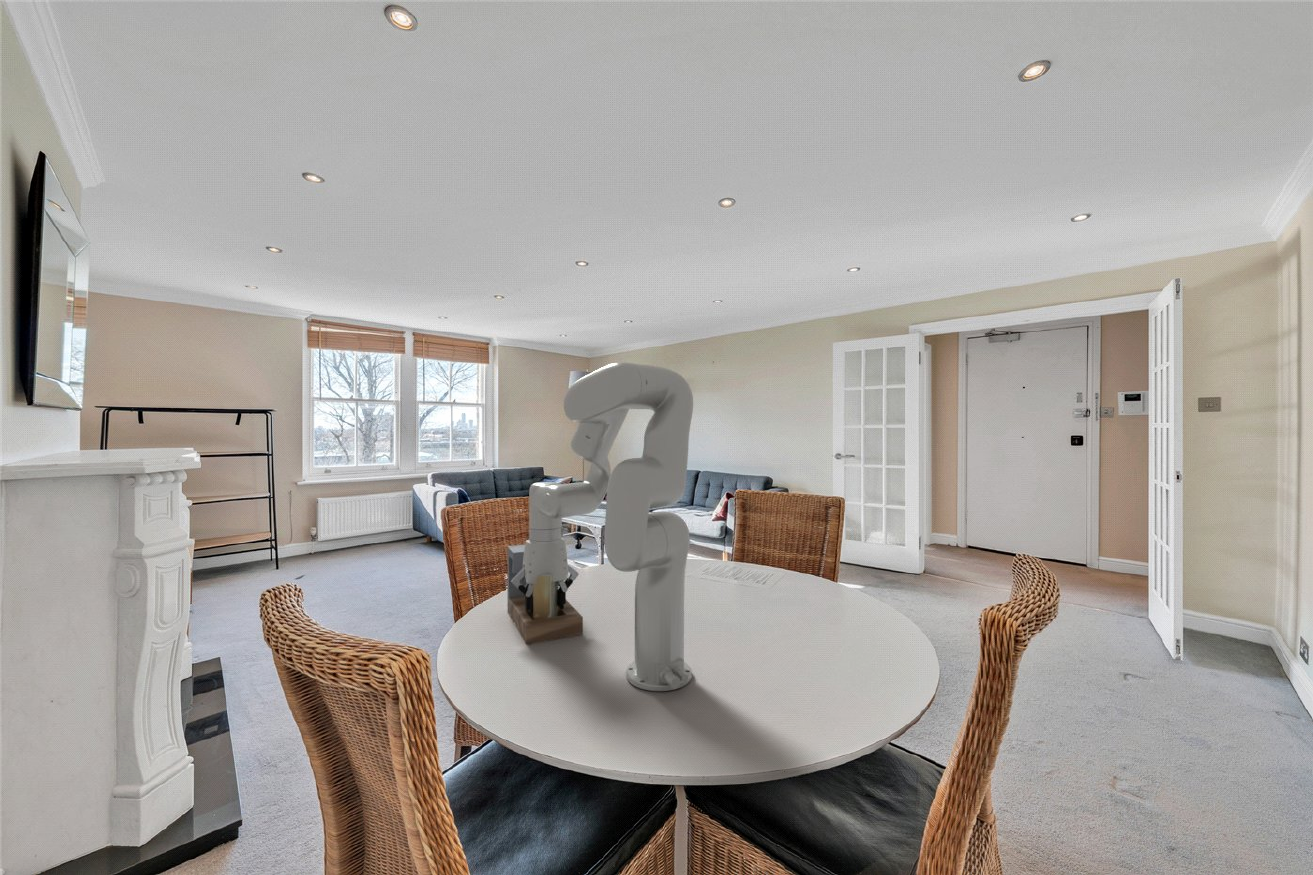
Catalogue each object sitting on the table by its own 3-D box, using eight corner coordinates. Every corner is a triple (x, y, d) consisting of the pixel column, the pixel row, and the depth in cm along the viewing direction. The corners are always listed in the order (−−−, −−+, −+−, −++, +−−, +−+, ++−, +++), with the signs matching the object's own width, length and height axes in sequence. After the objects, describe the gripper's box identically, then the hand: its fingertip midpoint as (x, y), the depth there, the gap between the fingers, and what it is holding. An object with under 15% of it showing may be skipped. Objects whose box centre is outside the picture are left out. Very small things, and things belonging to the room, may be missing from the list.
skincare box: (540, 617, 129) (540, 567, 128) (558, 617, 128) (558, 567, 128) (532, 627, 122) (532, 574, 122) (550, 627, 122) (550, 575, 122)
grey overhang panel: (564, 613, 136) (564, 547, 135) (513, 621, 130) (513, 552, 130) (556, 604, 143) (556, 541, 143) (507, 611, 137) (507, 546, 137)
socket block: (582, 634, 122) (582, 617, 122) (526, 644, 116) (526, 626, 116) (558, 606, 141) (558, 591, 141) (508, 613, 135) (508, 598, 135)
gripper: (576, 528, 132) (576, 599, 132) (505, 534, 125) (505, 609, 125) (585, 534, 125) (585, 609, 126) (511, 540, 118) (511, 620, 118)
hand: (545, 608), depth 125 cm, fingers closed on skincare box, 6 cm apart
